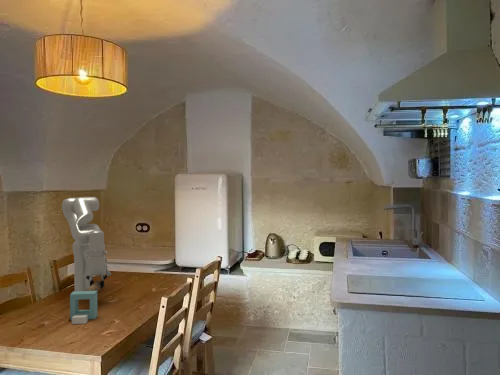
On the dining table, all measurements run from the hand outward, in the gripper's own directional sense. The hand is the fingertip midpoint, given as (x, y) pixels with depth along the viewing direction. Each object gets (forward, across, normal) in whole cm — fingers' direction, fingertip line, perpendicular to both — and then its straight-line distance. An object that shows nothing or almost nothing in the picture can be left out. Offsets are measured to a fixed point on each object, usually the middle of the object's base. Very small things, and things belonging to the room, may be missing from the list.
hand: (97, 287), depth 213 cm
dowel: (+1, 0, +9) cm, 9 cm away
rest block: (+9, 0, +31) cm, 32 cm away
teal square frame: (+9, 0, +24) cm, 25 cm away
